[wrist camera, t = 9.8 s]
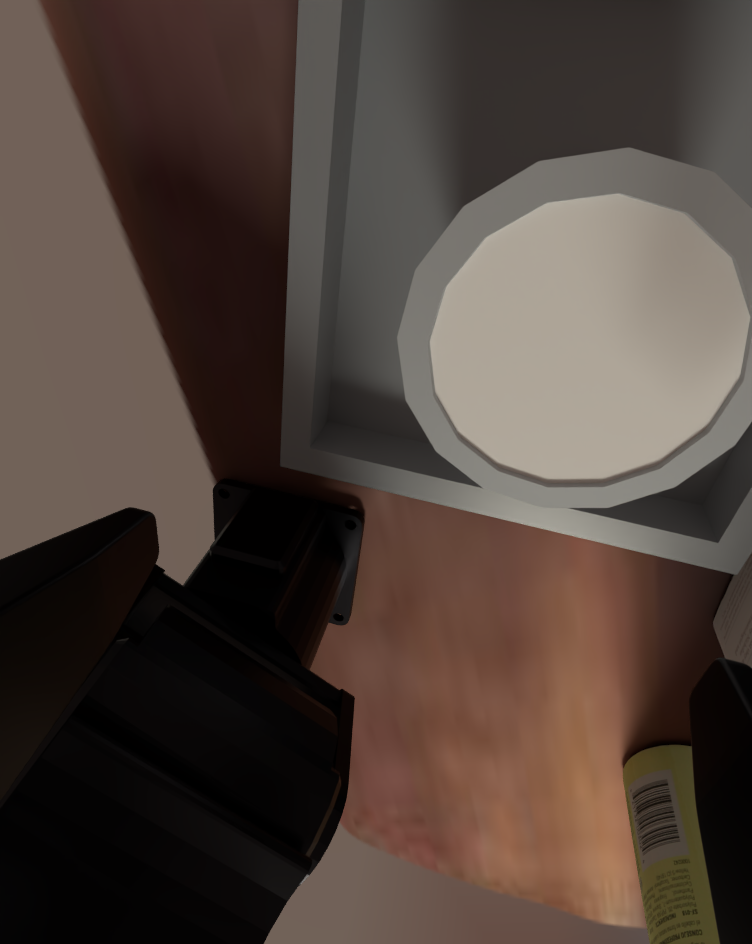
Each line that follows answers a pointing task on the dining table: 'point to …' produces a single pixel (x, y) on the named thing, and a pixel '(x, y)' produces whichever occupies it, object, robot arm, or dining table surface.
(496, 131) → the tray
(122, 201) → the dining table surface
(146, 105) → the dining table surface
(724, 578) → the dining table surface
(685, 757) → the tube
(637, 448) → the white cup
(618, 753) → the dining table surface
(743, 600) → the supplement box
